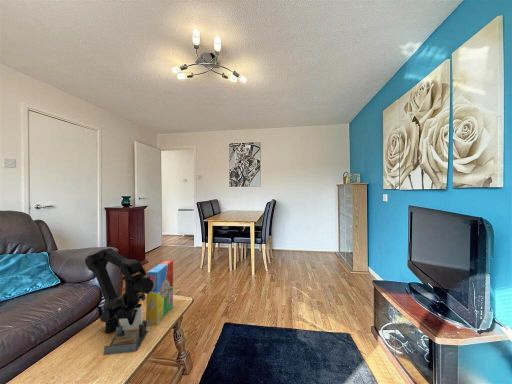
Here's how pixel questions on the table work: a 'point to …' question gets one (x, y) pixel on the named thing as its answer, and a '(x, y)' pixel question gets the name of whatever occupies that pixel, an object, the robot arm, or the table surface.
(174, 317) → the table surface
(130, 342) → the offcut upper
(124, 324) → the panel
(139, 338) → the rack
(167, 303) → the game box
